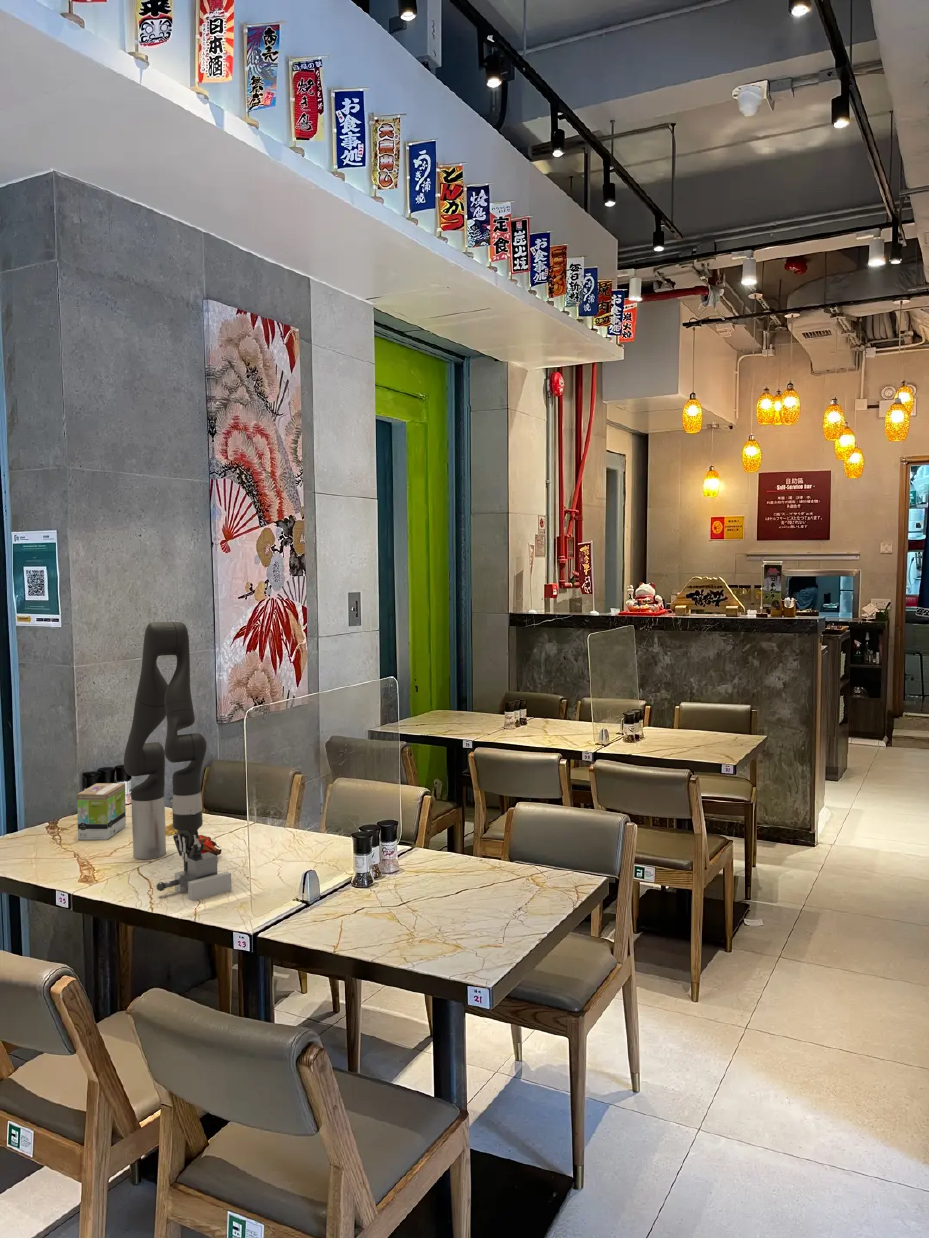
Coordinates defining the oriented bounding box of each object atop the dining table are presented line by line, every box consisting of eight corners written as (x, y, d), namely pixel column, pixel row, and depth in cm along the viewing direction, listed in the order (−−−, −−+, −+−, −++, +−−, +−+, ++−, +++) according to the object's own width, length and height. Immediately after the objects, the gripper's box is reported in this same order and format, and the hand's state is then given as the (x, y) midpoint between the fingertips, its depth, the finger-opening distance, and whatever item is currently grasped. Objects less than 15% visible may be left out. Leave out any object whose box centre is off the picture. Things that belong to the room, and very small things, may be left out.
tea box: (109, 840, 293) (107, 793, 292) (77, 840, 293) (75, 793, 292) (127, 826, 308) (125, 781, 307) (96, 826, 308) (94, 782, 307)
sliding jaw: (154, 895, 240) (154, 878, 240) (210, 880, 251) (209, 864, 251) (159, 898, 238) (159, 881, 238) (215, 883, 249) (215, 866, 248)
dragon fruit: (192, 862, 275) (216, 876, 268) (172, 852, 269) (196, 866, 261) (208, 836, 278) (232, 849, 270) (189, 825, 272) (213, 839, 264)
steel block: (188, 891, 243) (187, 857, 243) (209, 885, 247) (208, 851, 247) (196, 895, 240) (195, 861, 239) (218, 889, 244) (216, 855, 244)
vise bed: (153, 884, 252) (152, 863, 252) (191, 874, 260) (190, 854, 259) (192, 905, 236) (191, 883, 236) (231, 894, 244) (230, 873, 243)
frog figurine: (214, 823, 310) (210, 780, 308) (175, 844, 294) (170, 799, 292) (192, 819, 315) (187, 777, 312) (152, 840, 299) (147, 796, 296)
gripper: (162, 807, 250) (164, 870, 251) (185, 817, 240) (187, 883, 241) (188, 801, 255) (190, 864, 256) (212, 811, 245) (214, 876, 246)
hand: (189, 873), depth 249 cm, fingers closed
